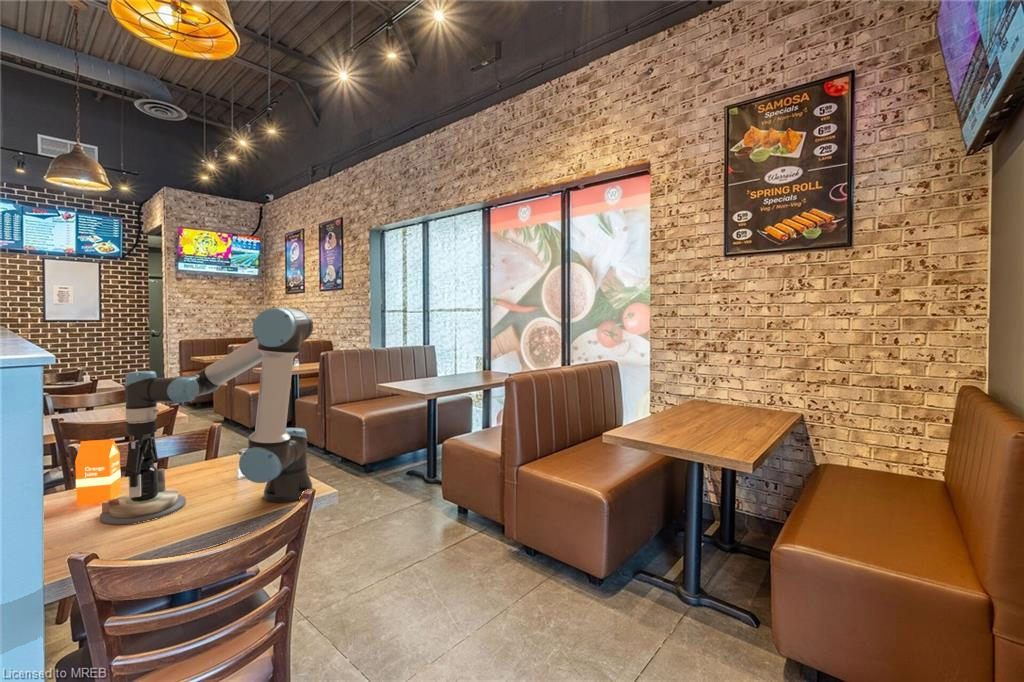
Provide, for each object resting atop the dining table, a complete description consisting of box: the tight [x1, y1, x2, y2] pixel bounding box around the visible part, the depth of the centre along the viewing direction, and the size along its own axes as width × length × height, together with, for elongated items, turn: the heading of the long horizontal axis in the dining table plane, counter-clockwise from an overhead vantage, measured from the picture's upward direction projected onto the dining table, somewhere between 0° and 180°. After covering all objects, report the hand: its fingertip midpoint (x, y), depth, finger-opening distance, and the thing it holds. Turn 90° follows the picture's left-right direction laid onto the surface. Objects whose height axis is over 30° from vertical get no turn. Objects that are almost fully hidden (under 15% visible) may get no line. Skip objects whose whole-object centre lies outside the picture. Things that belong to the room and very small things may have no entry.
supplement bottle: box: [131, 457, 158, 501], centre depth 142 cm, size 7×7×12 cm
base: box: [99, 494, 187, 526], centre depth 142 cm, size 21×21×4 cm
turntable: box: [108, 468, 179, 518], centre depth 142 cm, size 17×17×9 cm
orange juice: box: [74, 438, 122, 506], centre depth 150 cm, size 8×9×20 cm
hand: (142, 490), depth 141 cm, fingers open, 11 cm apart
